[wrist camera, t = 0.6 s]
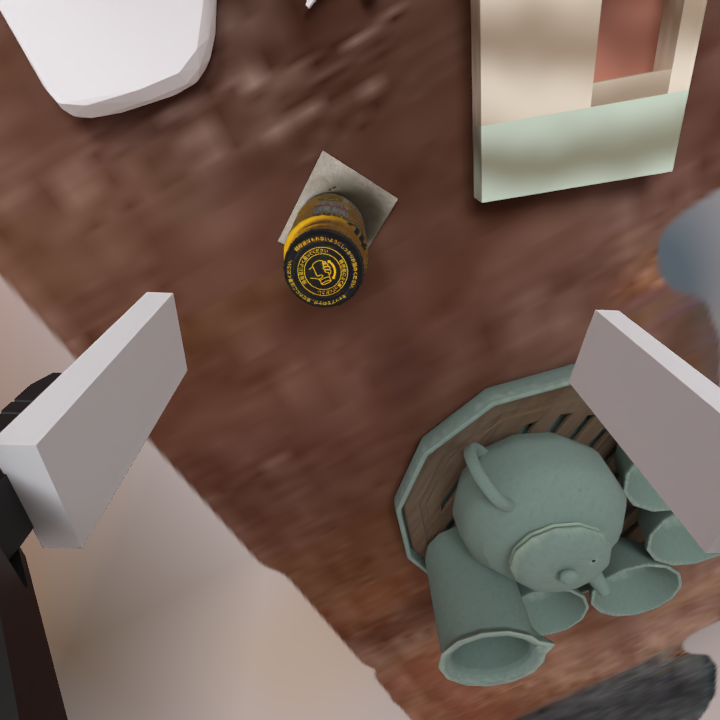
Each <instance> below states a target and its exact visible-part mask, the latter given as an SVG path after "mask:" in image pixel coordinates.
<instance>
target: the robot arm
mask: <svg viewBox="0 0 720 720" xmlns="http://www.w3.org/2000/svg"><path fill="white" fill-rule="evenodd" d="M186 372H187V366H186V360H185V355H184V349H183V344H182V338H181V333H180V328H179V322H178V317H177V311H176V306H175V301H174V295H173V293H158V292H147V293H146V294H145V295H143V296H142V297H141V298H140V299H139V300H138V301H137V302H136V303H135V304H134V305H133V306H132V307H131V308H130V309H129V310H128V311H127V312H126V313H125V314H124V315H123V316H122V317H121V318H119V319H118V320H117V321H116V322H115V323H114V324H113V325H112V326H111V327H110V328H109V329H108V330H107V331H106V332H105V333H104V334H103V335H102V336H101V337H100V338H99V339H98V340H97V341H95V342H94V343H93V344H92V345H91V346H90V347H89V348H88V349H87V350H86V351H85V352H84V353H83V354H82V355H81V356H80V357H79V358H78V359H77V360H76V361H75V362H74V363H73V364H71V365H70V366H69V368H67V369H66V370H65V371H64V372H63V373H52V374H50V375H48V376H46V377H44V378H42V379H40V380H38V381H37V382H35V383H33V384H31V385H30V386H29V387H27V388H26V389H25V390H24V391H23V392H22V393H21V394H20V395H18V396H17V397H16V398H15V401H14V402H11V403H10V404H8V405H7V406H6V407H5V408H4V409H3V410H2V412H1V414H0V720H68V719H67V715H66V712H65V708H64V704H63V700H62V696H61V692H60V688H59V684H58V681H57V677H56V673H55V669H54V665H53V661H52V657H51V654H50V650H49V646H48V642H47V638H46V634H45V630H44V627H43V623H42V619H41V615H40V611H39V607H38V603H37V599H36V596H35V592H34V588H33V584H32V580H31V576H30V572H29V568H28V565H27V561H26V557H25V555H24V553H23V552H22V550H21V548H20V546H21V544H22V543H23V542H24V540H25V539H26V537H27V536H28V535H29V533H30V532H31V531H32V529H33V530H34V532H35V534H36V536H37V538H38V540H39V541H40V544H41V546H42V547H43V548H83V546H84V545H85V543H86V541H87V540H88V538H89V536H90V535H91V533H92V531H93V529H94V528H95V526H96V524H97V523H98V521H99V519H100V517H101V516H102V514H103V512H104V511H105V509H106V507H107V506H108V504H109V502H110V501H111V499H112V497H113V495H114V494H115V492H116V490H117V489H118V487H119V485H120V484H121V482H122V480H123V479H124V476H125V475H126V473H127V472H128V470H129V468H130V467H131V465H132V463H133V461H134V460H135V458H136V456H137V455H138V453H139V451H140V450H141V448H142V446H143V445H144V443H145V441H146V440H147V438H148V436H149V434H150V433H151V431H152V429H153V428H154V426H155V424H156V423H157V421H158V419H159V417H160V416H161V414H162V412H163V411H164V409H165V407H166V406H167V404H168V402H169V401H170V399H171V397H172V395H173V394H174V392H175V390H176V389H177V387H178V385H179V384H180V382H181V380H182V378H183V377H184V375H185V373H186ZM569 383H570V384H571V385H572V387H573V388H574V389H575V390H576V392H577V393H578V394H579V395H580V397H581V398H582V399H583V400H584V402H585V403H586V404H587V405H588V407H589V408H590V409H591V410H592V412H593V413H594V414H595V415H596V417H597V418H598V419H599V420H600V422H601V423H602V424H603V425H604V427H605V428H606V429H607V430H608V432H609V433H610V434H611V435H612V437H613V438H614V439H615V440H616V442H617V443H618V444H619V445H620V447H621V448H622V449H623V450H624V452H625V453H626V454H627V455H628V457H629V458H630V459H631V461H632V462H633V463H634V464H635V466H636V467H637V468H638V469H639V471H640V472H641V473H642V474H643V476H644V477H645V478H646V479H647V481H648V482H649V483H650V484H651V486H652V487H653V488H654V489H655V491H656V492H657V493H658V494H659V496H660V497H661V498H662V499H663V501H664V502H665V503H666V504H667V506H668V507H669V508H670V509H671V511H672V512H673V513H674V514H675V516H676V517H677V518H678V519H679V521H680V522H681V523H682V524H683V526H684V527H685V528H686V529H687V531H688V532H689V533H690V534H691V536H692V537H693V538H694V539H695V541H696V542H697V543H698V544H699V546H700V547H701V548H702V549H703V551H704V552H705V553H720V388H719V387H718V386H717V385H715V384H714V383H713V382H711V381H710V380H709V379H707V378H706V377H705V376H704V375H702V374H701V373H700V372H698V371H697V370H696V369H694V368H693V367H692V366H690V365H689V364H688V363H687V362H685V361H684V360H683V359H681V358H680V357H679V356H677V355H676V354H675V353H673V352H672V351H671V350H669V349H668V348H667V347H666V346H664V345H663V344H662V343H660V342H659V341H658V340H656V339H655V338H654V337H652V336H651V335H650V334H649V333H647V332H646V331H645V330H643V329H642V328H641V327H639V326H638V325H637V324H635V323H634V322H633V321H631V320H630V319H629V318H628V317H626V316H625V315H624V314H622V313H621V312H620V311H614V310H595V312H594V315H593V317H592V320H591V323H590V325H589V328H588V331H587V333H586V336H585V339H584V342H583V344H582V347H581V350H580V352H579V355H578V358H577V360H576V363H575V366H574V368H573V371H572V374H571V376H570V379H569Z"/></svg>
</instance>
